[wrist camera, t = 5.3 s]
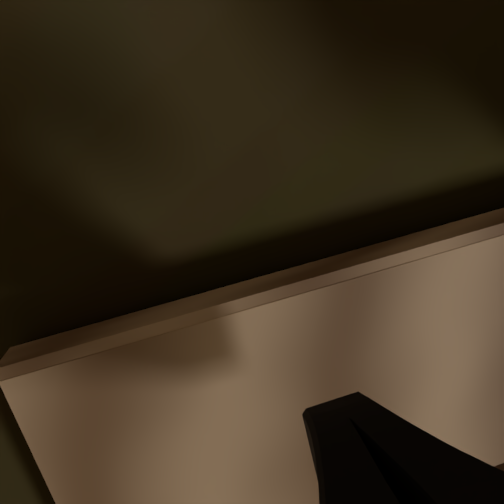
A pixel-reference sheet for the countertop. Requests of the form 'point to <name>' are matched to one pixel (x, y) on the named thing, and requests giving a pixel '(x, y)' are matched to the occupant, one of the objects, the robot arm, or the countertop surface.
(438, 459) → the robot arm
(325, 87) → the countertop surface
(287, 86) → the countertop surface
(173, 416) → the plank
